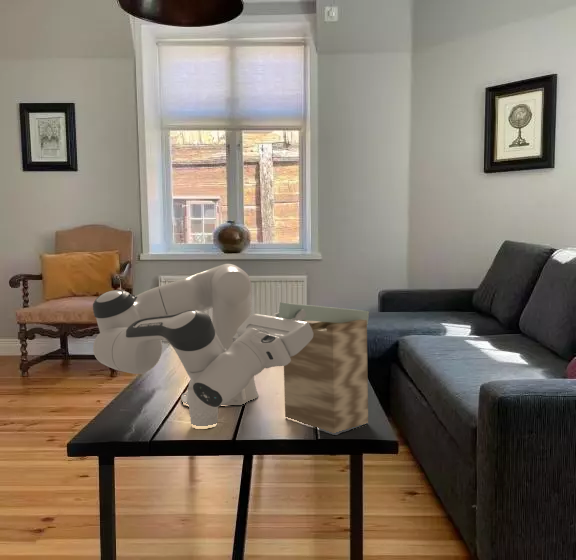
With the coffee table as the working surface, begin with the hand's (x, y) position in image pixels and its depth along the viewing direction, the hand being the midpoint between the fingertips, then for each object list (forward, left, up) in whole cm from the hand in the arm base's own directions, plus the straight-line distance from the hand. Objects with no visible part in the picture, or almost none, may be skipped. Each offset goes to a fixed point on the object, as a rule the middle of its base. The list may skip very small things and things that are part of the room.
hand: (296, 310), depth 143 cm
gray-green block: (+8, +4, -4) cm, 10 cm away
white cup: (-20, +18, -31) cm, 41 cm away
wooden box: (+10, +10, -31) cm, 34 cm away
